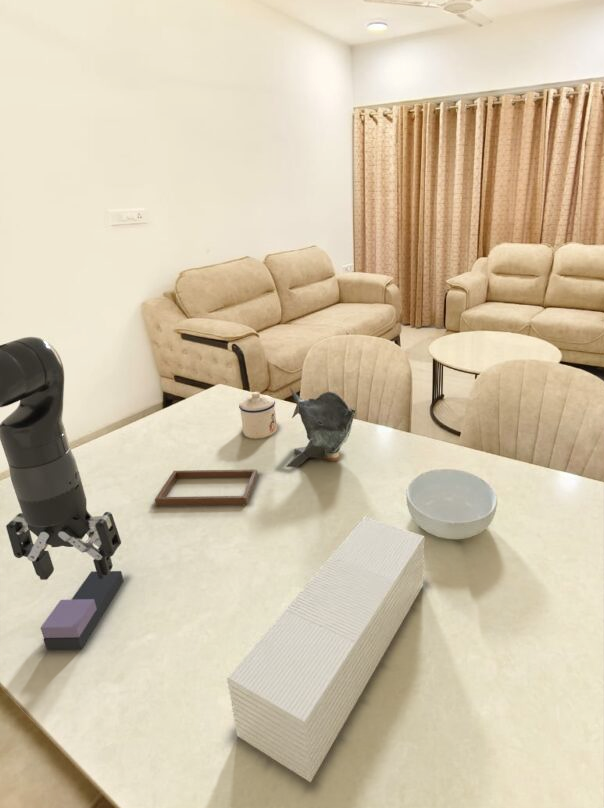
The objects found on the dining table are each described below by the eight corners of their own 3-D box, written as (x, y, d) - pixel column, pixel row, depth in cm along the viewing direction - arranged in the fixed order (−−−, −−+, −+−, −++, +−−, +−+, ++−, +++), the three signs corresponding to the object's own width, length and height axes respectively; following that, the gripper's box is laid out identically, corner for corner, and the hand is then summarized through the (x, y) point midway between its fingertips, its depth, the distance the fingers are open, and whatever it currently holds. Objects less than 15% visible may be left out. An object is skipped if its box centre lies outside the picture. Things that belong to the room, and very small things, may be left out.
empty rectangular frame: (156, 509, 102) (154, 499, 101) (175, 480, 112) (173, 470, 111) (247, 508, 102) (246, 497, 101) (258, 478, 112) (257, 469, 111)
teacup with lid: (278, 439, 129) (274, 398, 125) (242, 443, 127) (237, 402, 123) (276, 418, 140) (272, 380, 135) (243, 422, 138) (238, 383, 133)
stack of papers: (310, 787, 56) (304, 722, 52) (237, 740, 60) (226, 677, 56) (423, 589, 82) (424, 536, 78) (366, 567, 86) (364, 516, 82)
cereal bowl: (392, 537, 93) (392, 506, 91) (423, 489, 107) (423, 461, 105) (482, 564, 87) (485, 531, 84) (502, 509, 101) (505, 479, 98)
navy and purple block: (48, 654, 72) (39, 629, 70) (95, 585, 84) (88, 561, 82) (83, 654, 72) (74, 628, 70) (124, 584, 84) (118, 561, 82)
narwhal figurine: (341, 483, 110) (337, 410, 103) (278, 472, 114) (271, 401, 108) (362, 451, 122) (360, 384, 116) (305, 442, 127) (300, 377, 120)
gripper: (-24, 500, 65) (12, 596, 71) (85, 498, 65) (112, 594, 71) (14, 468, 72) (44, 558, 78) (113, 467, 72) (135, 556, 78)
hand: (76, 575), depth 74 cm, fingers open, 8 cm apart
